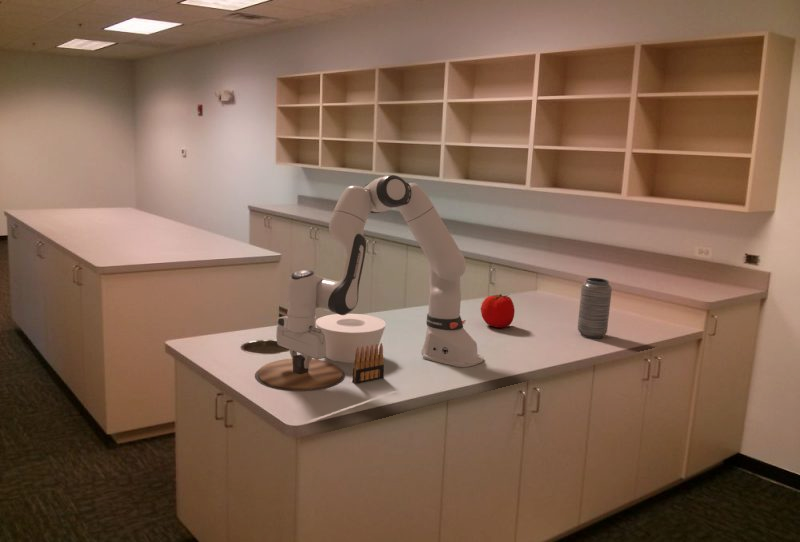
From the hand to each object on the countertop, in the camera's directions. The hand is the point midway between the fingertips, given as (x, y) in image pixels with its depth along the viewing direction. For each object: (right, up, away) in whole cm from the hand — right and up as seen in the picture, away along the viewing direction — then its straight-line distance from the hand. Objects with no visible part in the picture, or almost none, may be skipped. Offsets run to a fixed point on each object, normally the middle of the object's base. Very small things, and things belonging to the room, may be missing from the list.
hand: (300, 365), depth 214 cm
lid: (0, -3, +1) cm, 3 cm away
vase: (+109, +3, +64) cm, 126 cm away
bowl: (+14, 0, +23) cm, 27 cm away
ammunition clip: (+21, -5, -1) cm, 22 cm away
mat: (0, -4, +1) cm, 4 cm away
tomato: (+71, +6, +71) cm, 100 cm away
